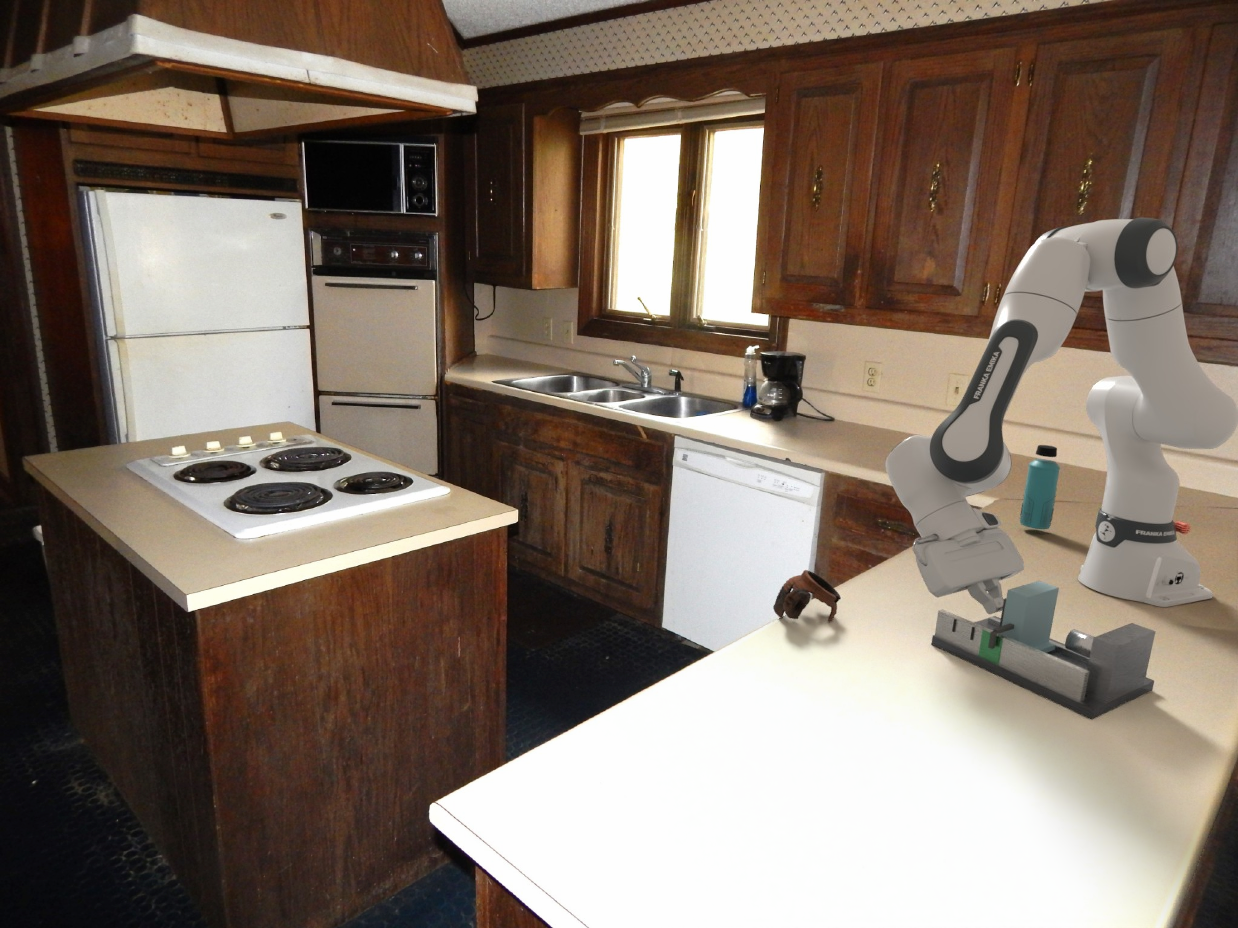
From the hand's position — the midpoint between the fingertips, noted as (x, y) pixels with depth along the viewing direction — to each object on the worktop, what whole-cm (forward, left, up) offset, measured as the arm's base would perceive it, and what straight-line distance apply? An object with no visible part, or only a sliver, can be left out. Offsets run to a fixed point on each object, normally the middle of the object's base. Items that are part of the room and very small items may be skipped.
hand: (998, 611), depth 121 cm
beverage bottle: (-50, -52, -6) cm, 73 cm away
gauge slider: (+1, +5, -4) cm, 7 cm away
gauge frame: (-2, +7, -6) cm, 9 cm away
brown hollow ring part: (+25, -14, -6) cm, 29 cm away
